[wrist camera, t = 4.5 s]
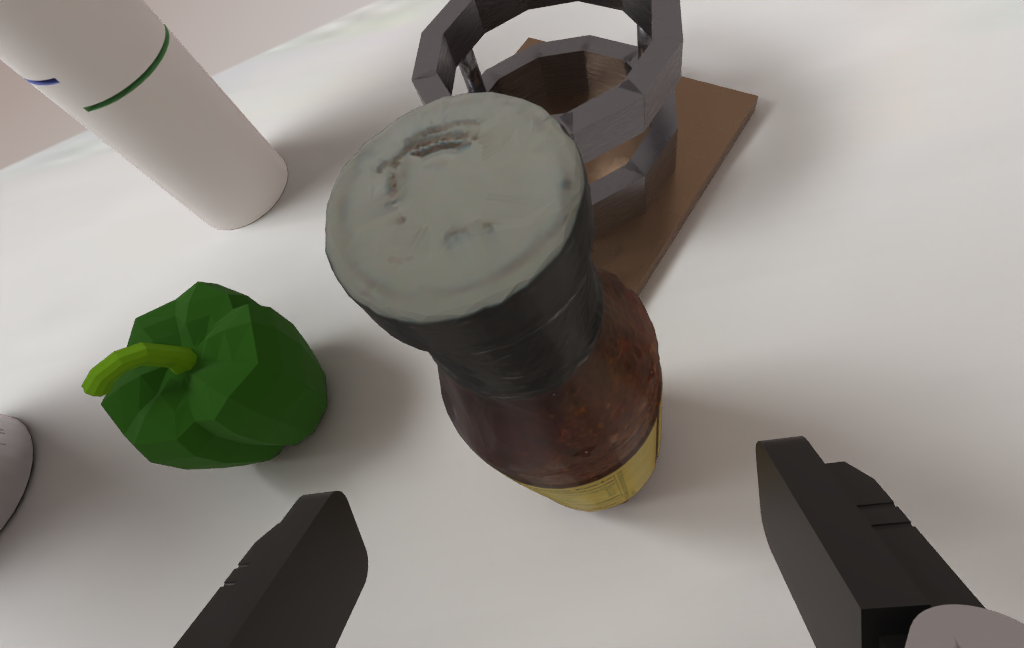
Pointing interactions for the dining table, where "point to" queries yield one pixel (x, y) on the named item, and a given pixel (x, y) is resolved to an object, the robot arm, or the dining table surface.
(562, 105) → the collar stand
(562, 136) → the sauce bottle
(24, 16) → the cylindrical container
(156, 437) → the bell pepper
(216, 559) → the dining table surface
